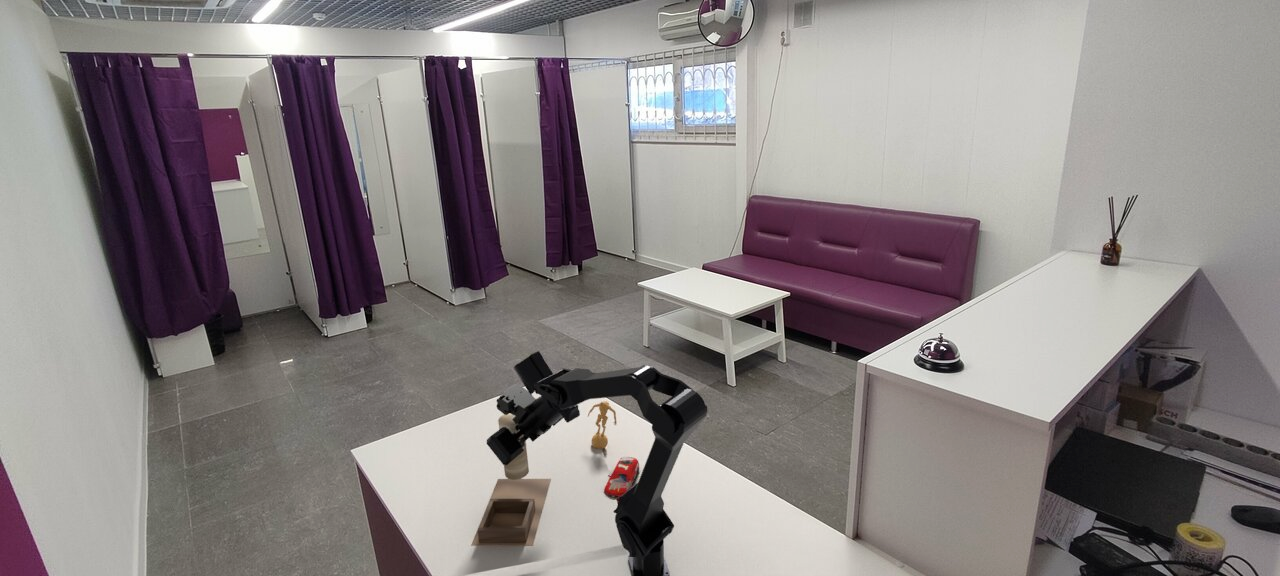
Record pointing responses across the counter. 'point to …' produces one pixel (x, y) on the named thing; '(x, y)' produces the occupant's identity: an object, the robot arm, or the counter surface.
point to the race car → (622, 477)
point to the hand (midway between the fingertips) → (508, 444)
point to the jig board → (513, 513)
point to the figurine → (599, 438)
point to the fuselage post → (520, 463)
